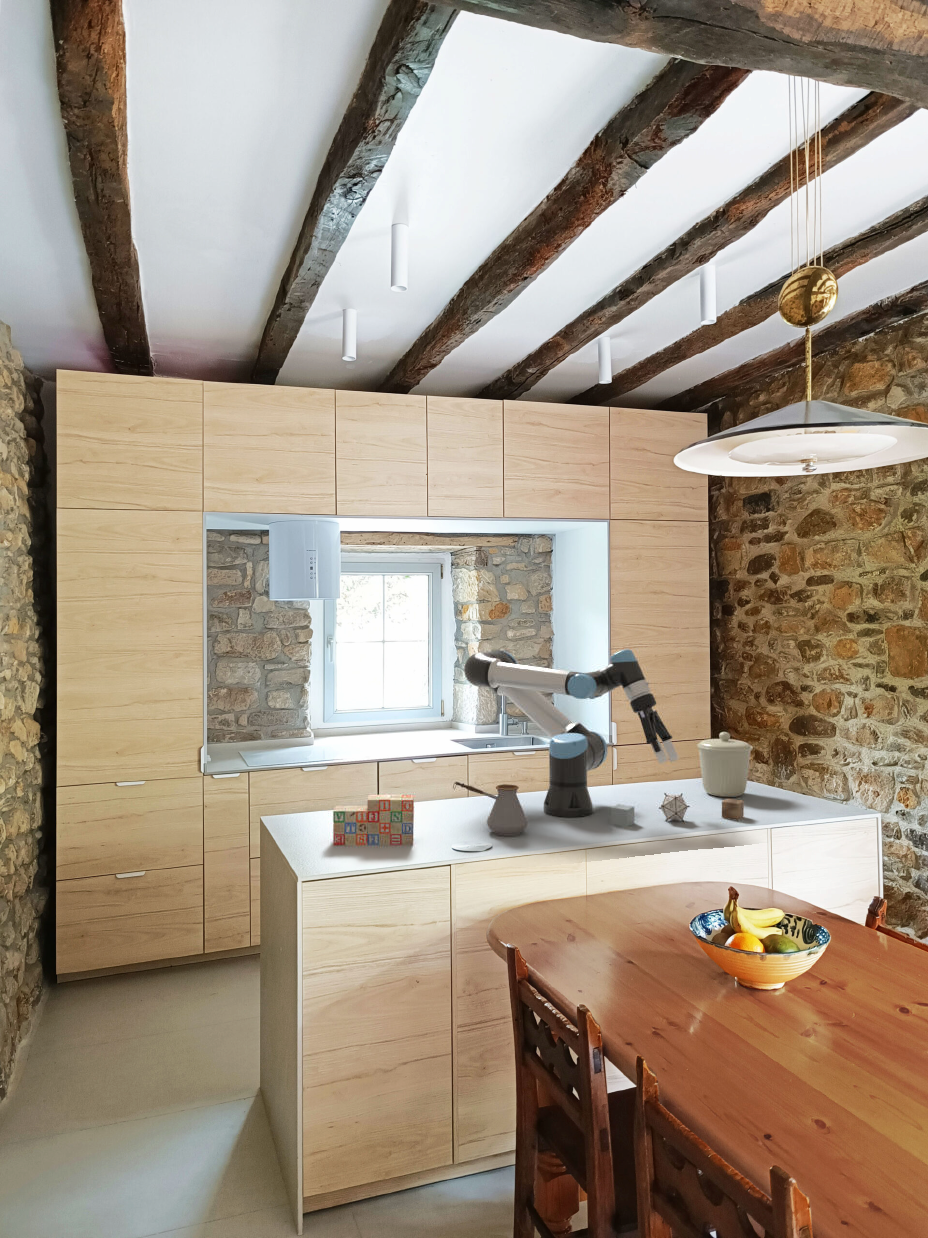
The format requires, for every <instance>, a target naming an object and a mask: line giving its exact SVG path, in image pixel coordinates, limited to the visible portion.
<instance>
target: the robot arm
mask: <svg viewBox="0 0 928 1238" xmlns="http://www.w3.org/2000/svg"><path fill="white" fill-rule="evenodd" d="M609 661H610V664H608V665H607V666H605V667H603V668H601V669H598V670H596V671H592V672H591V671H590V672H579V671H570V670H563V669H556V668H547V667H542V666H541V667H540V666H533V665H525V664H518V662H517V660H516V658H515V657H514V656H513V655H512V654H511V653H510V652H508V651H505V650H500V649H497V650H496V649H495V650H491V651H479V652H475V653H473V654H472V655H470V656H469V657H468V658H467V659H466V662H465V663H464V667H463V671H464V676H465V678H466V680H467V681H468V682H469V683H470V684H471V685H472V686H475V687H479V688H483V687H484V688H490V689H491V690H492V691H493V692H494V693H495V694H497V695H498V696H506V697H507V699H509V700H510V702H512V703H513V704H514V705H515V707H518V709H519V710H521V712H522V713H524V714H525V715H526V716H527V717H528V718H529V719H530V720H531V721H532V723H534V724H536V726H537V727H538V728H540V729H541V730H542V731H543V732H544V733H545V734H546V735H547V736H549V738H550V740H549V747H548V756H549V757H548V759H549V761H548V763H549V765H548V766H549V770H548V771H549V773H548V774H549V777H548V781H549V784H548V789H547V792H546V794H545V799H544V801H543V812H544V813H546V814H548V815H550V816H556V817H561V818H562V817H564V818H567V817H568V818H575V817H576V818H578V817H587V816H589V815H591V814H593V813H594V811H593V810H594V805H593V800H592V798H591V795H590V792H589V788H588V772H589V771H592V770H595V769H597V768H599V767H600V766H601V765H603V763H604V762H605V760H607V756H608V744H607V742H606V740H605V738H604V737H603V736H602V735H601V734H600V733H598V732H596V731H593V730H592V731H591V730H589V729H588V728H586V727H585V726H584V725H583V724H582V723H581V722H573V721H572V720H571V719H569V717H568V716H566V715H565V714H564V713H563V712H562V711H561V710H560V709H559V708H557V706H555V705H554V704H553V703H552V702H551V701H549V699H548V698H546V697H545V696H544V695H543V694H542V693H550V694H557V695H563V696H565V695H566V696H571V697H573V698H574V699H578V700H587V699H590V700H594V699H596V698H600V697H602V696H603V695H605V694H607V693H609V692H611V691H613V690H615V689H617V688H619V687H622V689H623V692H624V694H625V696H626V698H627V700H628V702H629V704H630V707H631V709H632V711H633V713H635V714H637V716H638V717H639V720H640V723H641V726H642V730H643V733H644V736H645V737H644V738H645V742H646V744H647V745H649V744H650V746H651V748H652V750H653V753H654V754H655V757H656V759H657V762H658V763H659V765H662V764H664V763H666V762H668V761H670V763H672V762H675V761H677V760H679V759H680V757H679V754H678V753H677V751H676V749H675V746H674V744H673V742H672V739H673V735H672V734H670V732H669V730H668V729H667V727H666V725H665V724H664V722H663V721H662V719H661V717H660V715H659V713H658V711H657V710H654V709H653V707H655V706H656V705H657V701H656V699H655V696H654V694H653V693H651V689H650V686H649V685H650V682H649V681H647V679H646V677H645V675H644V673H643V671H642V669H641V666H640V663H639V660H637V657H636V656H635V654H634V652H633V651H632V650H631V649H627V648H626V649H623V650H620V651H618V652H615V653H614V654H611V655H610V657H609ZM541 692H542V693H541ZM658 737H659V739H658ZM660 740H661V741H662V742H661V741H660Z"/></svg>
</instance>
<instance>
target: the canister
mask: <svg viewBox="0 0 928 1238" xmlns="http://www.w3.org/2000/svg"><path fill="white" fill-rule="evenodd" d="M718 736H719V738H711V739H710V738H709V739H704V740H701V741H700V742H699V743H698V742H697V744H696V747H697V748H698V752H699V762H700V772H701V780H702V781H701V782H702V786H703V789H704V791H705V792H706V793H707V794H709V795H711V796H715V797H721V798H736V797H741V796H742V795H744V793H745V792H746V788H747V784H748V778H749V769H750V760H751V751H752V750H753V749H754V748H753V746H752V745H750V744H749V743H748V742H746V741H743V740H740V739H739V740H738V739H732V738H731V734H730V733H729V732H728V731H727V732H726V731H722V732H720V733H719V735H718Z"/></svg>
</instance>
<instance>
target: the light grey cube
mask: <svg viewBox="0 0 928 1238" xmlns="http://www.w3.org/2000/svg"><path fill="white" fill-rule="evenodd" d="M610 811H611V814H610V819H611V821H610V824H611V825H613V826H618V827H619V826H620V827H624V826H627V827H626V828H628V827H630V826H632V825H634V824H635V806H634V805H633V806H632V805H626V804H621V803H619V804H615V805H614V806H612V807H611V808H610Z"/></svg>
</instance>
